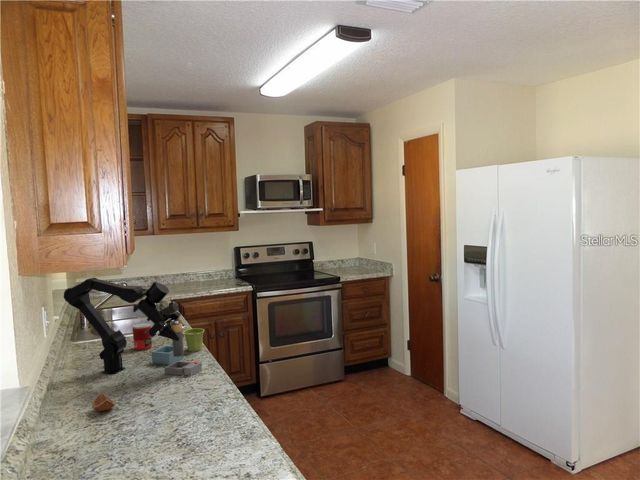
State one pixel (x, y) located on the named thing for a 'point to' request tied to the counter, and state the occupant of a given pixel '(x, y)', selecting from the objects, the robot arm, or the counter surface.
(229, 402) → the counter surface
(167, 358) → the bin
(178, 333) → the battery cell
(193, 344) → the plant pot
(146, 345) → the canned food
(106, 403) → the brown lump
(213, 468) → the counter surface
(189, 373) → the tester
